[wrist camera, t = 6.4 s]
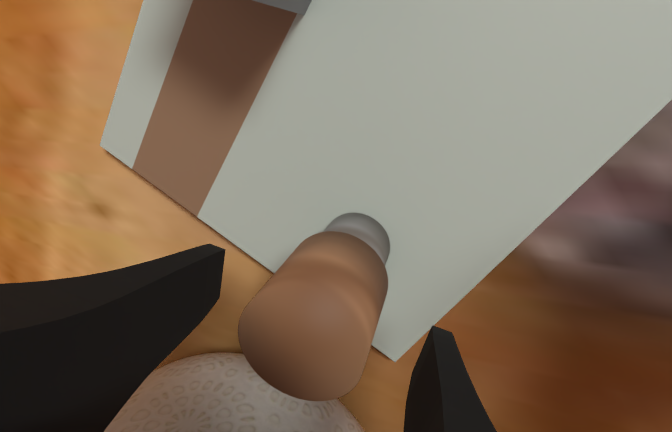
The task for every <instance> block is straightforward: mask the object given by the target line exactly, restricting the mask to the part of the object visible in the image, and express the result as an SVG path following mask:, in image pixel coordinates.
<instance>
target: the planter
mask: <svg viewBox="0 0 672 432" xmlns="http://www.w3.org/2000/svg"><path fill="white" fill-rule="evenodd" d="M104 432H365V431H364V430H363V428H362V427H361V425H360V424H359V423H358V421H357V420H356V419H355V417H354V416H353V415H352V414H351V413H350V411H349V410H348V409H347V408H346V407H345V406H344V405H343V404H342V403H341V402H340V401H339V400H338V399H333V400H329V401H307V400H302V399H298V398H295V397H292V396H289V395H287V394H284V393H282V392H280V391H279V390H277V389H275V388H274V387H272V386H271V385H269V384H268V383H267V382H265V381H264V380H263V379H262V378H261V377H260V376H259V375H258V374H257V373H256V372H255V371H254V370H253V368H252V367H251V366H250V364H249V363H248V361H247V360H246V358H245V356H244V354H242V353H227V352H226V353H206V354H200V355H195V356H191V357H186V358H183V359H180V360H177V361H175V362H172V363H169V364H167V365H165V366H163V367H161V368H159V369H157V370H155V371H153V372H151V373H150V375H149V376H148V377H147V378H146V379H145V380H144V381H143V383H142V384H141V385H140V386H139V387H138V389H137V390H136V391H135V392H134V394H133V395H132V396H131V397H130V399H129V400H128V401H127V402H126V403H125V405H124V406H123V407H122V409H121V410H120V411H119V412H118V414H117V415H116V416H115V418H114V419H113V420H112V421H111V423H110V424H109V425H108V427H107V428H106V429H105V431H104Z"/></svg>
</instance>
